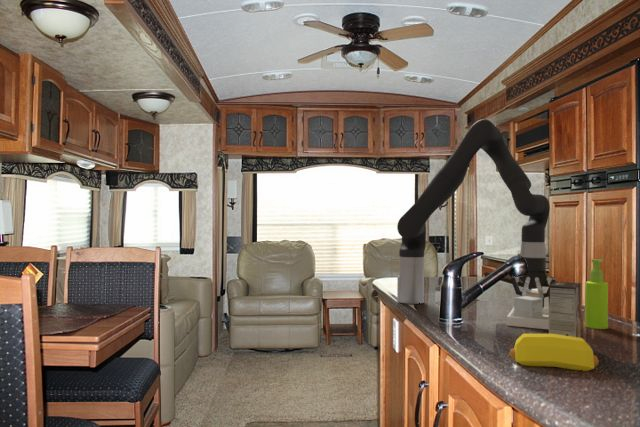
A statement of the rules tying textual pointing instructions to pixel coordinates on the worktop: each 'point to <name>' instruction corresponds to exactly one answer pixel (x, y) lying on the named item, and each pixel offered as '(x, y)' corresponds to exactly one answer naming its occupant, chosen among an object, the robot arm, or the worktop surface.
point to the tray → (529, 320)
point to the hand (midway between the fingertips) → (532, 308)
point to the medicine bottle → (545, 288)
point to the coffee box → (565, 309)
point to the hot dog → (554, 351)
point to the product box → (528, 307)
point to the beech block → (533, 294)
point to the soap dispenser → (596, 298)
